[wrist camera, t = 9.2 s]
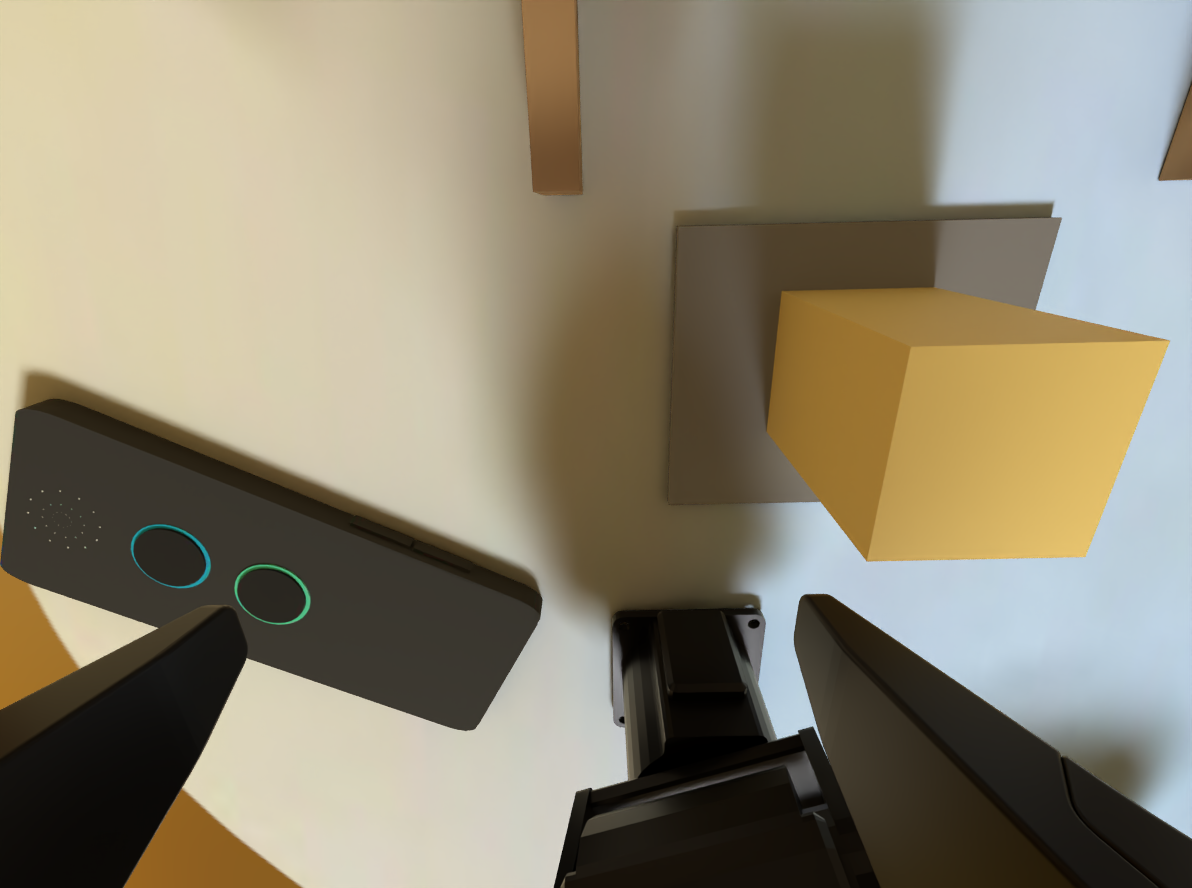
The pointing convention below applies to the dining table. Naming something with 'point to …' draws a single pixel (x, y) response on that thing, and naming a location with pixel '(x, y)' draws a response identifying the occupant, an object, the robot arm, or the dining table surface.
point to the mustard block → (955, 419)
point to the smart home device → (257, 566)
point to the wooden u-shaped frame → (559, 102)
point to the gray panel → (751, 313)
